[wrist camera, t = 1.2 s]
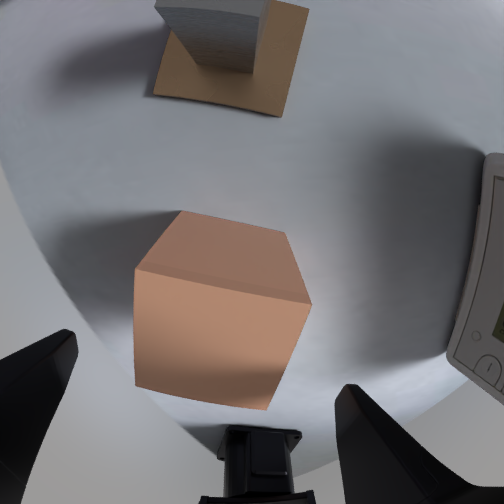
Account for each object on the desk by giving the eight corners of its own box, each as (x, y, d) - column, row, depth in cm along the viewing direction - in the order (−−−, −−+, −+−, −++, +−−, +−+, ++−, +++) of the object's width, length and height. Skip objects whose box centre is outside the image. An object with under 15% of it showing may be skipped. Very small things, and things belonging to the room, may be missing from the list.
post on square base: (280, 117, 12) (316, 96, 6) (155, 95, 12) (78, 65, 5) (307, 12, 10) (351, -65, 4) (188, -8, 9) (150, -88, 3)
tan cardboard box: (259, 317, 16) (266, 410, 10) (169, 299, 16) (135, 385, 10) (284, 232, 14) (312, 304, 8) (181, 210, 14) (135, 268, 8)
